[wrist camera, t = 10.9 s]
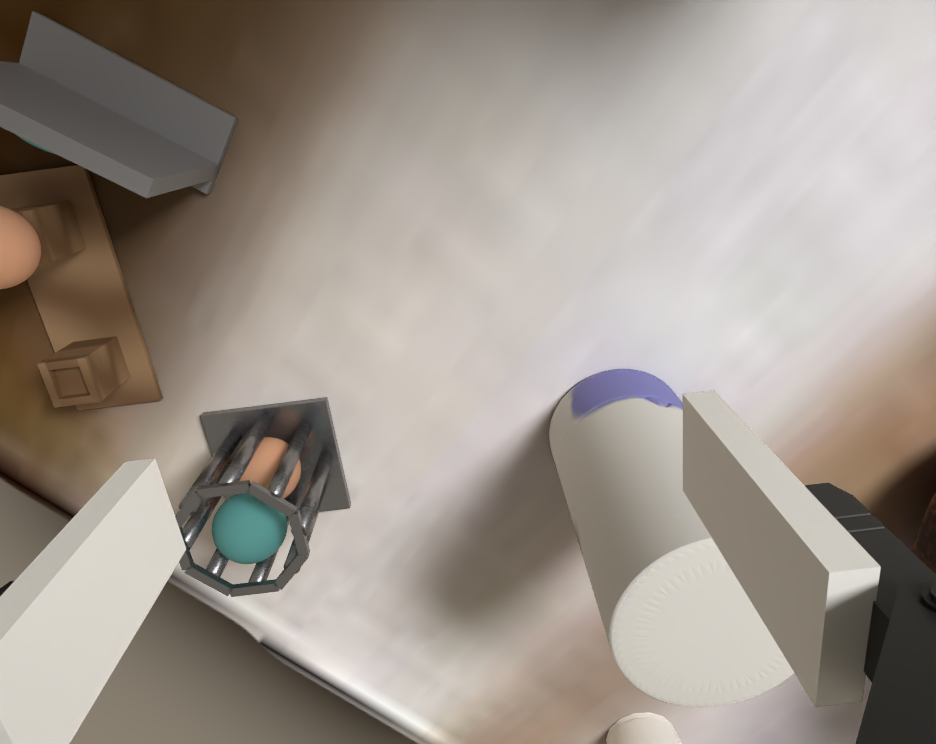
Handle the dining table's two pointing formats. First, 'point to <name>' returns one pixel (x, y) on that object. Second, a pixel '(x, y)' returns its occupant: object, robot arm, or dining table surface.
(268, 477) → the tube ball
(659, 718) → the foam cup
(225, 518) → the teal ball
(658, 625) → the container
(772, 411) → the dining table surface
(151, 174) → the grey upright block
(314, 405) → the grey barred cage
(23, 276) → the rack ball terracotta
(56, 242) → the rack
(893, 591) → the robot arm
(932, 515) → the jug
